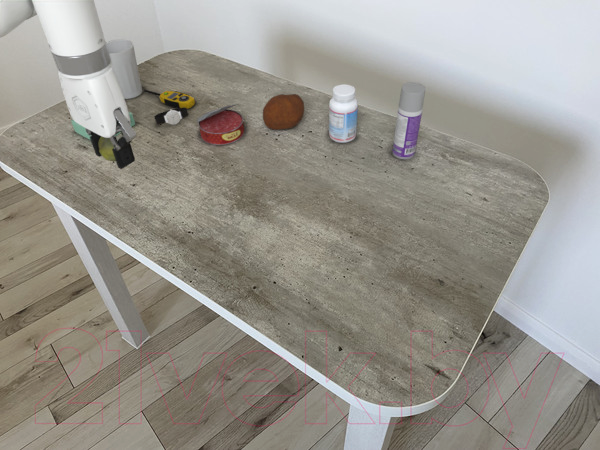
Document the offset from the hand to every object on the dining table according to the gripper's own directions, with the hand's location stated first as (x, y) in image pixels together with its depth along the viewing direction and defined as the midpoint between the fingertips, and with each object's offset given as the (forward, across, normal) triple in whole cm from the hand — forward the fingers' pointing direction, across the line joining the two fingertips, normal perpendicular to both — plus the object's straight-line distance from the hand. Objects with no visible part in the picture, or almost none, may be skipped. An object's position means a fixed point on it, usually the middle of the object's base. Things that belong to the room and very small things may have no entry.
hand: (115, 157), depth 83 cm
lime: (+1, 0, 0) cm, 1 cm away
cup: (+12, -35, +28) cm, 47 cm away
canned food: (+12, -3, +28) cm, 31 cm away
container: (+11, +34, +44) cm, 57 cm away
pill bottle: (+11, +20, +42) cm, 48 cm away
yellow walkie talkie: (+12, -24, +31) cm, 41 cm away
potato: (+11, +7, +38) cm, 41 cm away
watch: (+12, -16, +25) cm, 32 cm away
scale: (+12, -27, +14) cm, 33 cm away
